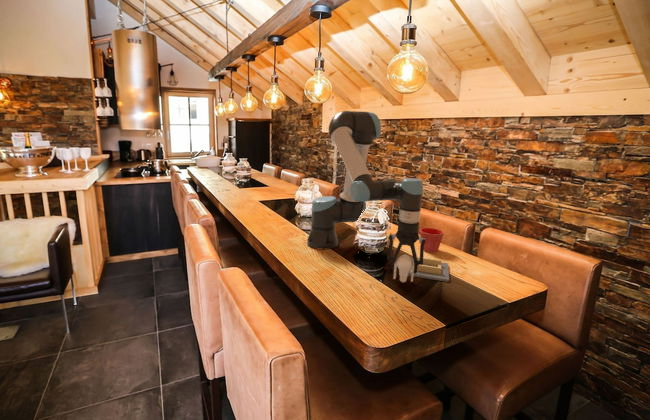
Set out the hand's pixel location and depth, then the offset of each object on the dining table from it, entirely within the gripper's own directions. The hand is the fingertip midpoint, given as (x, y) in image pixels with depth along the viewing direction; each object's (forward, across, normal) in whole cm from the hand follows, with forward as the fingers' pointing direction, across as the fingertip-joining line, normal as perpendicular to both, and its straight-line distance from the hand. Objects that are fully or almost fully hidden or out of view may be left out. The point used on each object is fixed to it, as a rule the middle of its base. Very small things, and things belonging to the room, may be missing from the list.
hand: (403, 278), depth 137 cm
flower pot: (+2, +9, +43) cm, 44 cm away
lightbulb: (+2, 0, 0) cm, 2 cm away
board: (+1, +9, +16) cm, 18 cm away
